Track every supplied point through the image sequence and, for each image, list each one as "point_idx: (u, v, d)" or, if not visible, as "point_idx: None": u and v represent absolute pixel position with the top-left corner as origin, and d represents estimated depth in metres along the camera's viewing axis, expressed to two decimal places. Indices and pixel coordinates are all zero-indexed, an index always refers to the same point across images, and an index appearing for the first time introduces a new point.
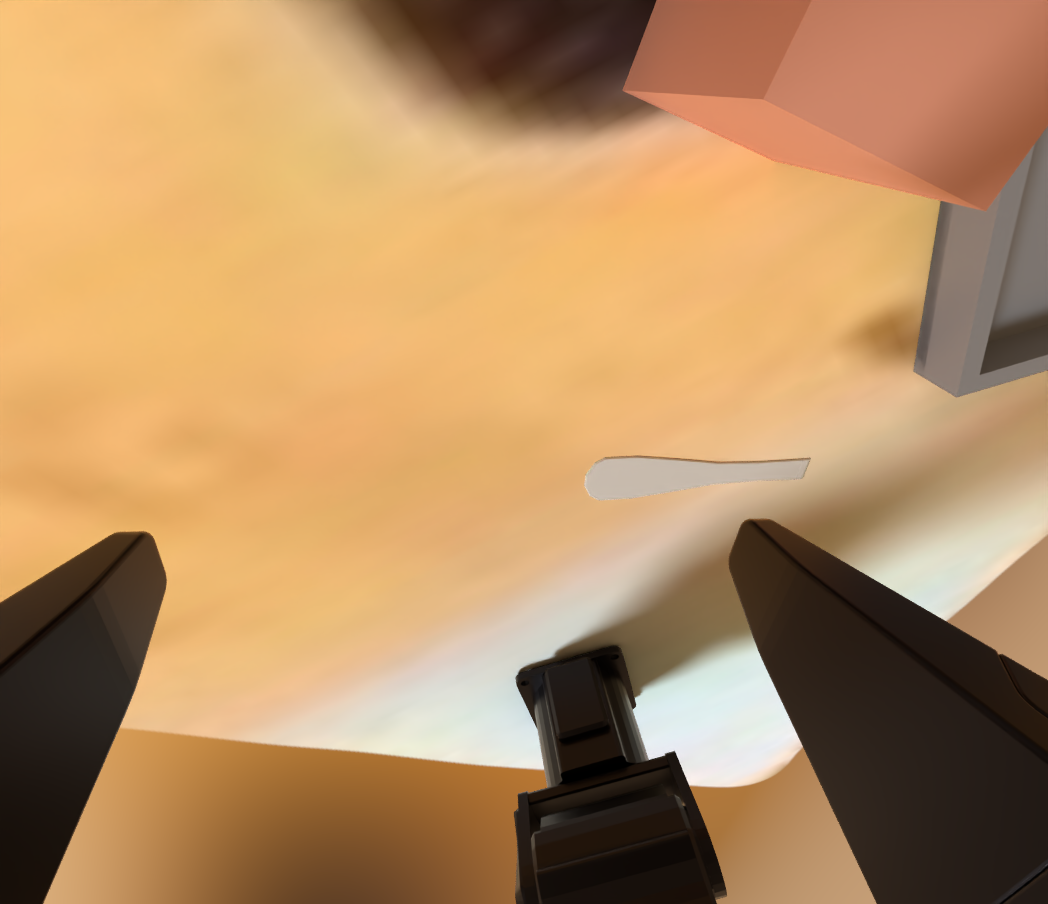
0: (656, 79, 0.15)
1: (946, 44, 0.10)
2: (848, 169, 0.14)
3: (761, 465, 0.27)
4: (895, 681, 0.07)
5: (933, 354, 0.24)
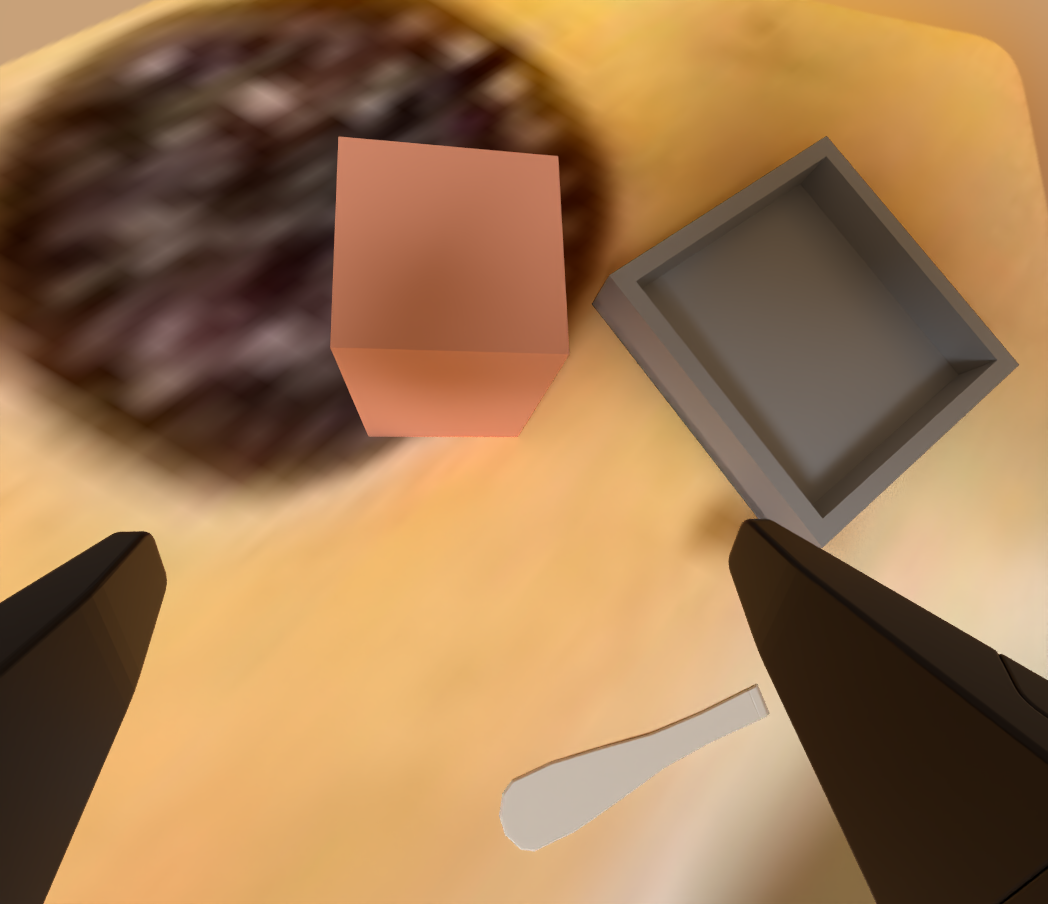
0: None
1: (447, 280, 0.15)
2: (504, 392, 0.18)
3: (706, 716, 0.22)
4: (895, 681, 0.07)
5: None
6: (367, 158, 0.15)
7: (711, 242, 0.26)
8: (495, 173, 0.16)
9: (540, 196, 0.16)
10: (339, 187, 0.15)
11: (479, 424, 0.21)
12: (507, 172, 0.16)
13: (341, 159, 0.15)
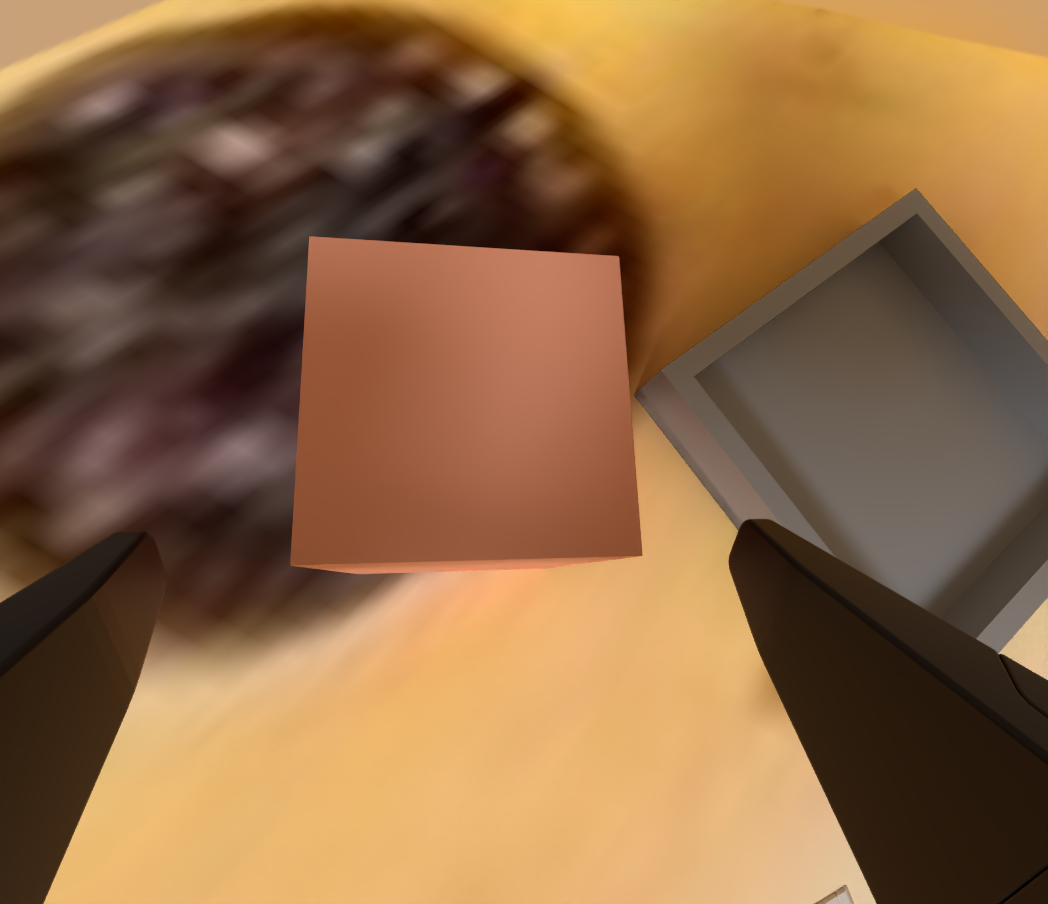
0: None
1: (465, 449, 0.10)
2: (538, 563, 0.13)
3: None
4: (895, 681, 0.07)
5: None
6: (349, 267, 0.10)
7: (777, 316, 0.22)
8: (532, 284, 0.11)
9: (596, 315, 0.11)
10: (309, 312, 0.10)
11: (499, 568, 0.17)
12: (549, 282, 0.11)
13: (313, 270, 0.10)
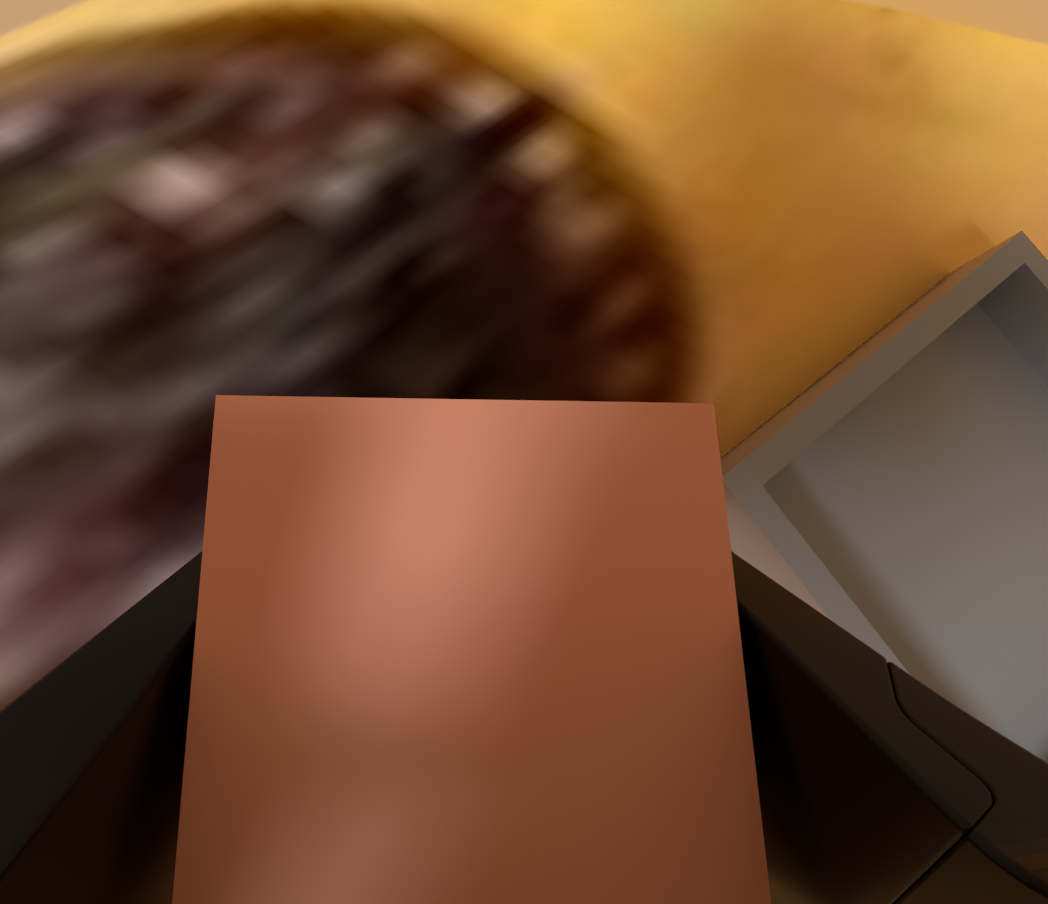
0: None
1: (478, 768, 0.06)
2: None
3: None
4: (782, 690, 0.06)
5: None
6: (282, 446, 0.06)
7: None
8: (582, 458, 0.07)
9: (683, 507, 0.07)
10: (211, 533, 0.06)
11: None
12: (608, 453, 0.07)
13: (220, 454, 0.06)
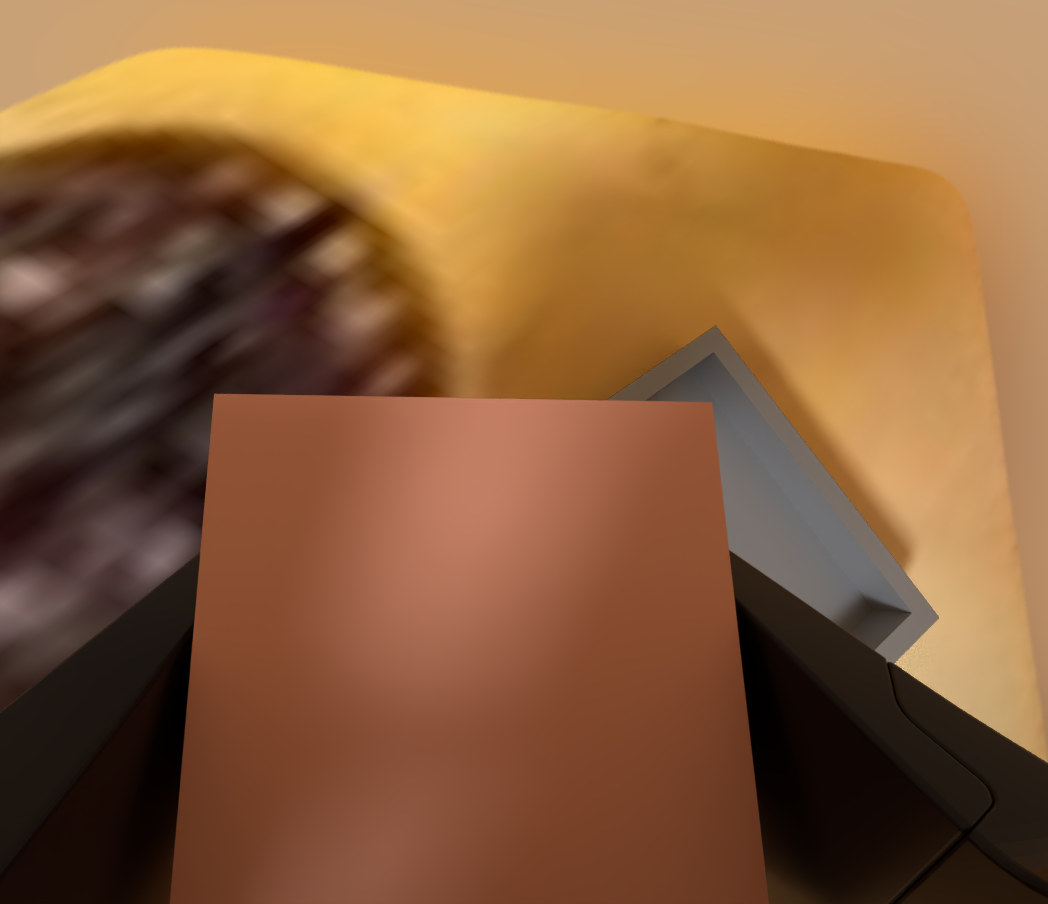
0: None
1: (476, 767, 0.06)
2: None
3: None
4: (782, 689, 0.06)
5: None
6: (281, 445, 0.06)
7: None
8: (580, 457, 0.07)
9: (682, 506, 0.07)
10: (210, 531, 0.06)
11: None
12: (606, 452, 0.07)
13: (219, 453, 0.06)
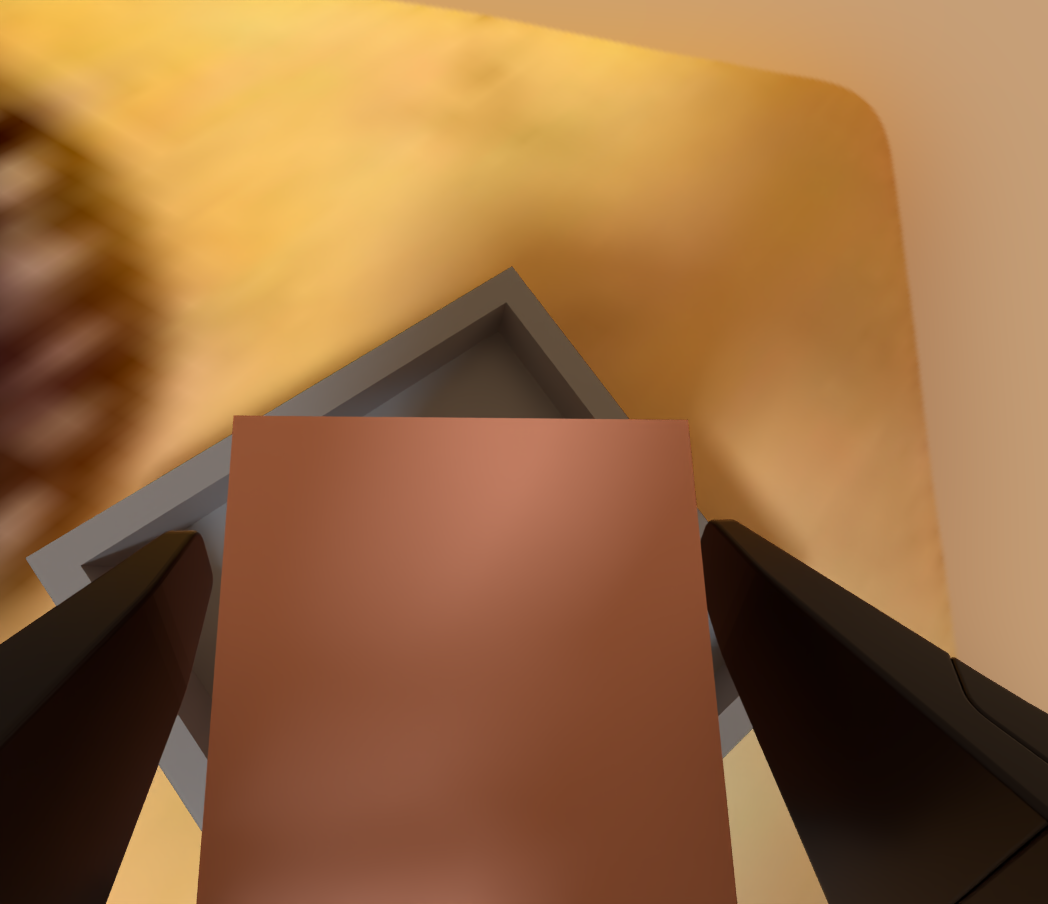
0: None
1: (471, 751, 0.07)
2: None
3: None
4: (846, 685, 0.06)
5: None
6: (294, 461, 0.07)
7: None
8: (566, 471, 0.08)
9: (659, 515, 0.08)
10: (231, 540, 0.07)
11: None
12: (590, 466, 0.08)
13: (238, 469, 0.07)
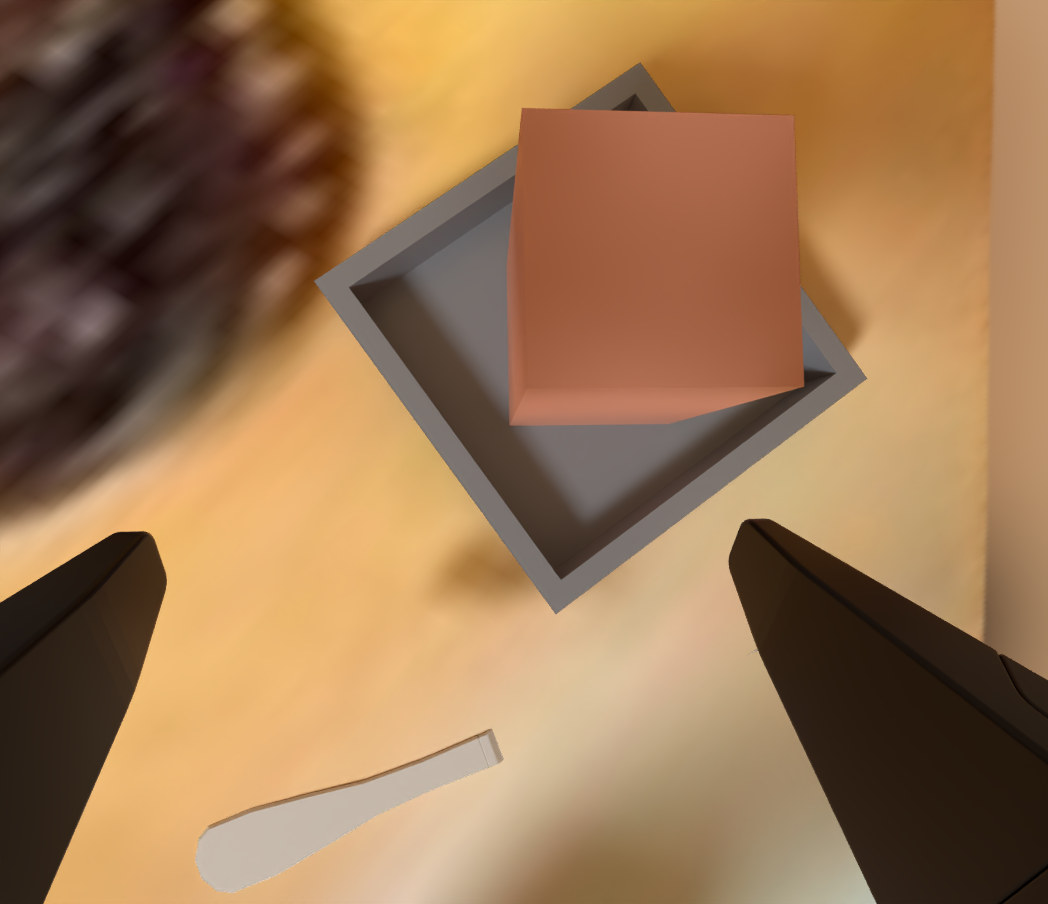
0: (512, 408, 0.18)
1: (659, 296, 0.12)
2: (691, 405, 0.15)
3: (426, 764, 0.21)
4: (894, 681, 0.07)
5: None
6: (557, 136, 0.12)
7: (487, 218, 0.21)
8: (715, 146, 0.12)
9: (771, 174, 0.12)
10: (526, 179, 0.12)
11: (636, 419, 0.19)
12: (730, 143, 0.12)
13: (526, 139, 0.12)
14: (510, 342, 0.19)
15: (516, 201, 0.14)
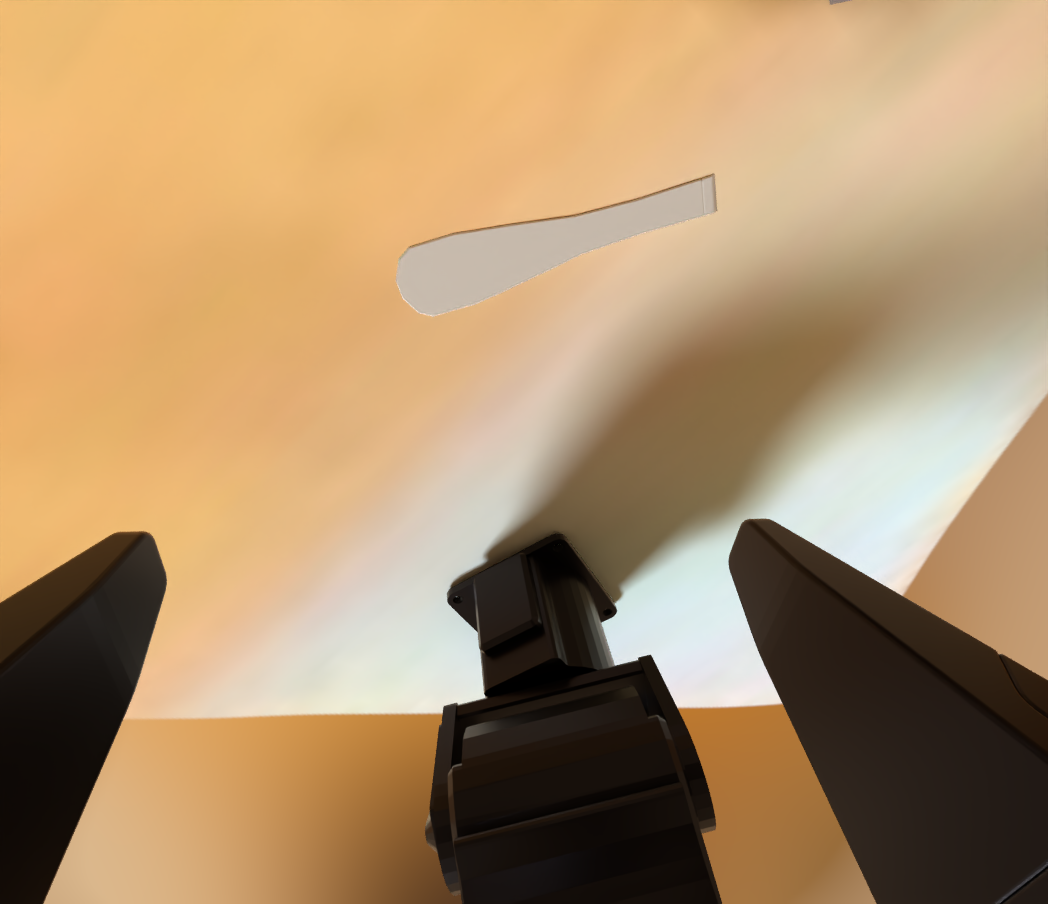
0: None
1: None
2: None
3: (641, 204, 0.19)
4: (895, 681, 0.07)
5: None
6: None
7: None
8: None
9: None
10: None
11: None
12: None
13: None
14: None
15: None
